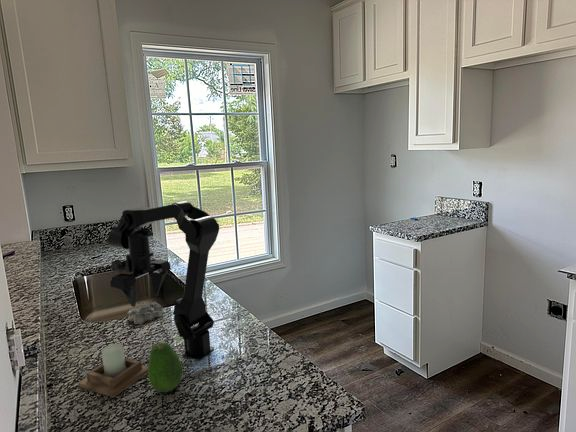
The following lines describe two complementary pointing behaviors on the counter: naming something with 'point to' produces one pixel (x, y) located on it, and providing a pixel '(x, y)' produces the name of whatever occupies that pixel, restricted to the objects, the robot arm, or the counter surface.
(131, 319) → the egg carton
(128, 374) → the holder
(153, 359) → the avocado
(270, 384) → the counter surface
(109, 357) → the white rounded cylinder
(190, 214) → the robot arm
